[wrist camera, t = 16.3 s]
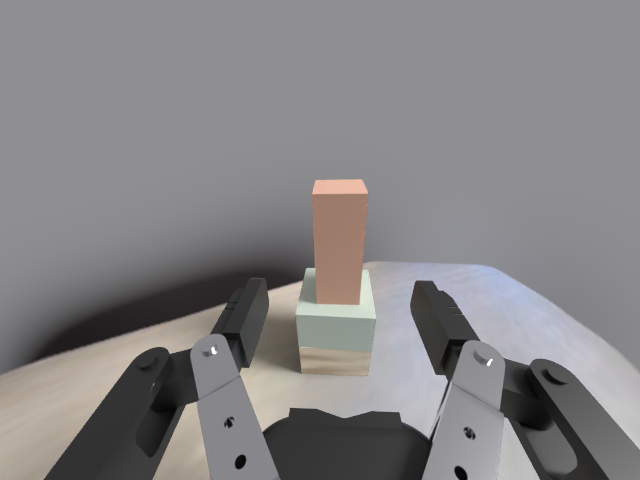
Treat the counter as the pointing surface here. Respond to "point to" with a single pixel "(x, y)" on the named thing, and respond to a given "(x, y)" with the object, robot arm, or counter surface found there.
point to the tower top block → (335, 319)
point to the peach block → (339, 239)
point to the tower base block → (334, 361)
